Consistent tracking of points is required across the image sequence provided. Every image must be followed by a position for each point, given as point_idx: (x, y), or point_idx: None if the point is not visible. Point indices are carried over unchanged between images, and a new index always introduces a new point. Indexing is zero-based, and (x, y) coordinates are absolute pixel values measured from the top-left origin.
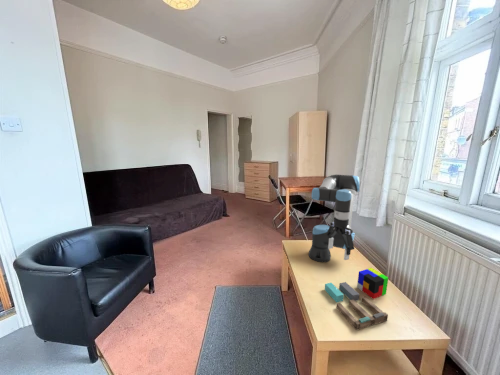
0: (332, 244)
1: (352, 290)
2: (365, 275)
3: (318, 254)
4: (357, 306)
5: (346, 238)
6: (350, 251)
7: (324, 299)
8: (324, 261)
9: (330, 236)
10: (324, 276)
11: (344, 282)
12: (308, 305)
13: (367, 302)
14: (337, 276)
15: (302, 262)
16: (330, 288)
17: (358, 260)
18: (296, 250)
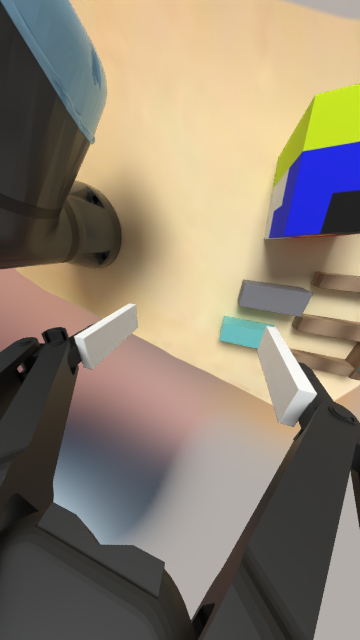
0: (122, 318)
1: (286, 298)
2: (327, 229)
3: (94, 253)
4: (327, 330)
5: (307, 582)
6: (324, 389)
7: (243, 353)
8: (119, 239)
9: (74, 382)
10: (179, 293)
11: (245, 289)
12: (238, 385)
13: (344, 290)
14: (193, 257)
15: (113, 301)
16: (240, 343)
17: (135, 27)
18: (59, 277)
